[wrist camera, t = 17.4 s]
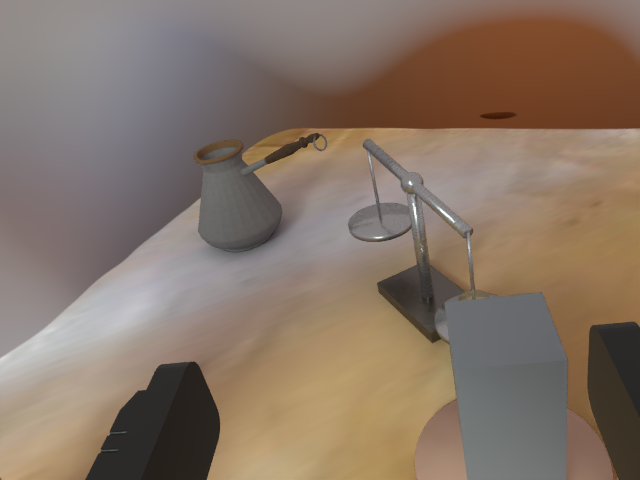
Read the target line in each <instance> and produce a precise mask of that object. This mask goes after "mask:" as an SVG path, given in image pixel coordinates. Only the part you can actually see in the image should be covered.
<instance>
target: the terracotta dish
mask: <svg viewBox="0 0 640 480" xmlns="http://www.w3.org/2000/svg"><path fill="white" fill-rule="evenodd" d="M415 470H416V476H417V480H467V475H466V468H465V460H464V453H463V446H462V439H461V431H460V424H459V416H458V407H457V399H456V400H454V401H452V402H451V403H449V404H447V405H446V406H444V407H443V408H442V409H440V410H439V411H438V412H437V413H436V414H435V415H434V416H433V417H432V418H431V419H430V420H429V421H428V423H427V424H426V426H425V427H424V429H423V431H422V433H421V435H420V437H419V440H418V443H417V446H416V452H415ZM566 480H613V471H612V464H611V461H610V458H609V455H608V452H607V450H606V448H605V446H604V444H603V442H602V441H601V439H600V438H599V436H598V435H597V434H596V432H595V431H594V430H593V429H592V428H591V427H590V425H589V424H588V423H586V422H585V421H584V420H583V419H582V418H581V417H580V416H579V415H577V414H576V413H575V412H573V411H572V410H570V409H569V408H567V452H566Z"/></svg>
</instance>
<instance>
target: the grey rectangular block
mask: <svg viewBox="0 0 640 480" xmlns="http://www.w3.org/2000/svg"><path fill="white" fill-rule="evenodd" d="M445 311H446V319H447V327H448V335H449V343H450V351H451V359H452V367H453V375H454V383H455V391H456V399H457V407H458V416H459V424H460V431H461V439H462V446H463V453H464V460H465V468H466V475H467V480H566V452H567V388H568V359H567V356H566V354H565V351H564V349H563V346H562V343H561V341H560V338H559V336H558V333H557V330H556V328H555V325H554V323H553V320H552V317H551V315H550V312H549V309H548V307H547V304H546V302H545V299H544V296H543V294H542V292H541V293H531V294H522V295H512V296H502V297H493V298H483V299H474V300H464V301H454V302H445Z"/></svg>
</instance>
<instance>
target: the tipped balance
mask: <svg viewBox="0 0 640 480" xmlns="http://www.w3.org/2000/svg"><path fill="white" fill-rule="evenodd" d="M363 147H364V148H365V149H366V150H367V154H368V159H369V165H370V170H371V176H372V181H373V187H374V192H375V198H376V203H377V204H376V205H372V206H368V207H366V208H363V209H361V210H360V211H358V212H356V213H355V214H354V215H353V216H352V217H351V218H350V220H349V223H348V226H349V231H350V233H351V235H352V236H353V237H355V238H357V239H359V240H362V241H367V242H380V241H387V240H391V239H394V238H397V237H399V236H401V235H403V234H405V233H406V232H408V231H409V230H410V229H411V228H412V233H413V240H414V247H415V253H416V260H417V265H416V266H414V267H411V268H409V269H407V270H405V271H403V272H400V273H398V274H396V275H394V276H392V277H389V278H387V279H385V280H383V281H381V282H378V283H377V285H378V290H379V293H380V294H381V295H383V296H384V297H385V298H386V299H387V300H388V301H389V302H390V303H391V304H392V305H393V306H394V307H395V308H396V309H397V310H398V311H399V312H400V313H401V314H402V315H403V316H404V317H406V318H407V319H408V320H409V321H410V322H411V323H412V324H413V325H414V326H415V327H416V328H417V329H418V330H419V331H420V332H421V333H422V334H423V335H424V336H425V337H426V338H427V339H429V340H430V341H431V342H432V343H433V342H435V341H437V340H439V339H442V340H444V341H445V342H446V343H448V344H449V345H450V343H449V335H448V327H447V319H446V311H445V302H454V301H464V300H474V299H483V298H493V297H499V296H497V295H493V294H488V293H485V292H483V291H480V290H475V285H474V274H473V263H472V251H471V240H470V236H471V235H472V233H473V228H471V227H470V226H469V225H468V224H467V223H466V222H464V221H463V220H462V219H461V218H460V217H459V216H458V215H456V214H455V213H454V212H453V211H452V210H451V209H450V208H448V207H447V206H446V205H445V204H444V203H443V202H441V201H440V200H439V199H438V198H437V197H436V196H435V195H433V194H432V193H431V192H430V191H429V190H428V189H427V188H425V187H424V186H423V179H422V177H421V176H420V175H419V174H418V173H415V172H409V173H408V172H407V171H406V170H405V169H404V168H402V167H401V166H400V165H399V164H398V163H397V162H396V161H394V160H393V159H392V158H391V157H390V156H389V155H387V154H386V153H385V152H384V151H383V150H382V149H381V148H379V147H378V146H377V145H376V144H375V143H374V142H373V141H371V140H370V139H366V140H365V141H364V142H363ZM371 155H373V156H374V157H375V158H376V159H377V160H378V161H379V162H380V163H381V164H383V165H384V166H385V167H386V168H387V169H388V170H389V171H390V172H391V173H392V174H394V175H395V176H396V177H397V178H398V179H399V180H400V181H401V188H402V190H403V191H404V192H405V193H407V200H408V206H409V207H407V206H405V205H402V204H398V203H381V204H379V198H378V193H377V187H376V181H375V176H374V170H373V164H372V159H371ZM421 200H422V201H423V202H425V203H426V204H427V205H428V206H429V207H430V208H431V209H432V210H433V211H435V212H436V213H437V214H438V215H439V216H440V217H441V218H442V219H443V220H444V221H446V222H447V223H448V224H449V225H450V226H451V227H452V228H453V229H454V230H456V231H457V232H458V233H459V234H460V235H461V236H462V237H463V238H466V239H467V250H468V261H469V271H470V282H471V290H469V291H466V292H465V291H464V290H462V289H461V288H460V287H458V286H457V285H456V284H454V283H453V282H452V281H450V280H449V279H448V278H446V277H445V276H444V275H443V274H441V273H440V272H439V271H437V270H436V269H435V268H433V267H432V266H431V265H430V262H429V254H428V247H427V239H426V232H425V224H424V217H423V210H422V202H421Z"/></svg>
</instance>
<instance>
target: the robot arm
mask: <svg viewBox="0 0 640 480" xmlns="http://www.w3.org/2000/svg"><path fill="white" fill-rule="evenodd" d="M588 394H589V400H590V404H591V408H592V412H593V415H594V417H595V420H596V423H597V425H598V428H599V430H600V433H601V435H602V438H603V440H604V443H605V445H606V448H607V450H608V453H609V456H610V458H611V461H612V463H613V466H614V468H615V471H616V473H617V476H618V478H619V480H640V327H639V326H638V324H637V323H635V322H625V323H614V324H604V325H593V326H591V328H590V333H589V356H588ZM219 434H220V418H219V412H218V409H217V407H216V404H215V402H214V400H213V397H212V395H211V393H210V390H209V388H208V386H207V383H206V381H205V379H204V376H203V374H202V372H201V369H200V367H199V366H198V364H197V363H196V362H184V363H173V364H162V365H160V366H159V367H158V368H157V369H156V371H155V373H154V375H153V377H152V379H151V381H150V383H149V386H148V388H147V390H142V391H138V392H137V393H136V394H135V395H134V396H133V397H132V398H131V399H130V400H129V401H128V402H127V403H126V404H125V406H124V407H123V408H122V409H121V410H120V412H119V414H118V416H117V418H116V420H115V422H114V424H113V426H112V428H111V430H110V435H109V436H107V438H106V440H105V442H104V444H103V446H102V448H101V453H100V454H98V456H97V458H96V460H95V462H94V464H93V466H92V468H91V470H90V472H89V474H88V476H87V478H86V480H207V476H208V473H209V470H210V466H211V463H212V459H213V456H214V453H215V449H216V446H217V443H218V439H219ZM0 480H2V479H1V478H0Z"/></svg>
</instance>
